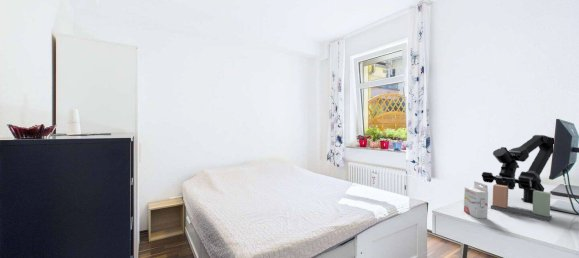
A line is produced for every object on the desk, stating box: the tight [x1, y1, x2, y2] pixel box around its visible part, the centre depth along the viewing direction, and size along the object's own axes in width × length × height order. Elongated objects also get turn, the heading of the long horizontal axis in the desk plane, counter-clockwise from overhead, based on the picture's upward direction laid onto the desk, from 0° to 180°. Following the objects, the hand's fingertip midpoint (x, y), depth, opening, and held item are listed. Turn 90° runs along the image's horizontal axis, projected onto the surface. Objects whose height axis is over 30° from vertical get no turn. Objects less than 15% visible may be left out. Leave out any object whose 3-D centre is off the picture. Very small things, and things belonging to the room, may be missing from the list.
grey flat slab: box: [490, 204, 553, 222], centre depth 115 cm, size 6×20×1 cm, turn 36°
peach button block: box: [492, 183, 509, 208], centre depth 120 cm, size 4×5×10 cm
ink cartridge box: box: [463, 180, 489, 219], centre depth 111 cm, size 9×5×15 cm, turn 179°
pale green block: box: [531, 190, 552, 217], centre depth 110 cm, size 4×5×10 cm
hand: (501, 193), depth 122 cm, fingers closed, pressing on peach button block
